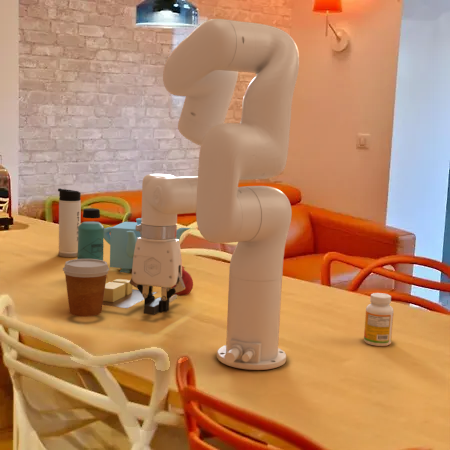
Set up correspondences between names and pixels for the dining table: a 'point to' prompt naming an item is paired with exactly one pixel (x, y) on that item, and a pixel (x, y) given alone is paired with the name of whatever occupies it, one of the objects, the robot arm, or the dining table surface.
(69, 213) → the travel mug
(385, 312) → the supplement bottle
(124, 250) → the teakettle
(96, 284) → the disposable coffee cup
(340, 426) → the dining table surface
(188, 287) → the onion
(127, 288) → the butter slice
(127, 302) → the board
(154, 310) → the knife
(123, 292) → the butter
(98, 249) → the beverage bottle
